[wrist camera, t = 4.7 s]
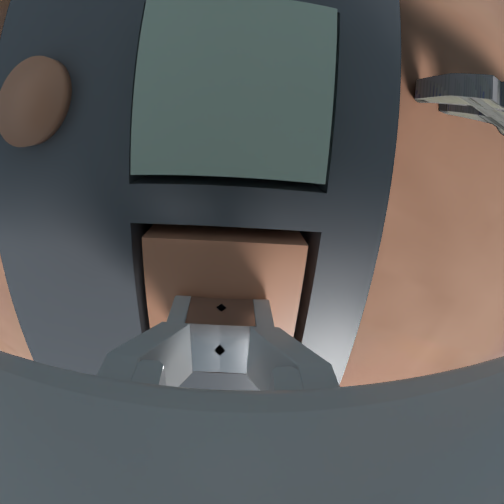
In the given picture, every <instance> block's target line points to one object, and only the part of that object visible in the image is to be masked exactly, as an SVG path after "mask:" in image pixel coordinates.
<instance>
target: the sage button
mask: <svg viewBox="0 0 504 504" xmlns="http://www.w3.org/2000/svg"><path fill="white" fill-rule="evenodd" d="M336 45H337V9H336V8H332V7H327V6H322V5H317V4H312V3H307V2H301V1H294V0H146V5H145V10H144V15H143V21H142V27H141V34H140V40H139V48H138V55H137V64H136V73H135V83H134V95H133V109H132V127H131V169H130V175H195V176H221V177H241V178H257V179H271V180H283V181H295V182H306V183H316V184H325V182H326V173H327V164H328V155H329V145H330V135H331V124H332V112H333V99H334V84H335V67H336Z"/></svg>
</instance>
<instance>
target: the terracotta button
mask: <svg viewBox="0 0 504 504" xmlns="http://www.w3.org/2000/svg"><path fill="white" fill-rule="evenodd" d="M142 252H143V266H144V278H145V289H146V299H147V308H148V317H149V325H150V328H152V327H154V326H156V325H157V324H159V323H161V322H167V319H168V316H169V313H170V310H171V307H172V304H173V301H174V298H175V296H176V295H182V296H191V297H192V296H196V297H209V298H222V299H268V300H269V302H270V307H271V311H272V316H273V321H274V326H275V327H279V328H281V329H282V330H284V331H285V332H286V333H288V334H289V335H291V336H292V337H293V336H294V331H295V325H296V320H297V314H298V308H299V302H300V296H301V290H302V284H303V278H304V272H305V265H306V259H307V252H308V244H307V243H306V241H305V240H304V238H303V236H302V235H301V233H300V232H299V231H294V230H278V229H260V228H241V227H222V226H200V225H176V224H153V225H152V226H151V227H150V228H149V230H148V231H147V232H146V233H145V234H144V235H143V237H142Z"/></svg>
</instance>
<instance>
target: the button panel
mask: <svg viewBox="0 0 504 504" xmlns="http://www.w3.org/2000/svg"><path fill="white" fill-rule="evenodd" d="M294 1H301V2H307V3H312V4H317V5H322V6H327V7H332V8H336V9H337V45H336V67H335V84H334V99H333V112H332V124H331V135H330V145H329V155H328V164H327V173H326V182H325V184H316V183H306V182H295V181H283V180H271V179H257V178H241V177H221V176H195V175H130V169H131V127H132V109H133V95H134V83H135V73H136V64H137V55H138V48H139V40H140V34H141V27H142V21H143V15H144V10H145V5H146V0H11V1H10V4H9V8H8V11H7V15H6V18H5V22H4V26H3V30H2V34H1V38H0V254H1V259H2V263H3V268H4V272H5V276H6V280H7V284H8V287H9V291H10V295H11V298H12V301H13V305H14V308H15V311H16V314H17V317H18V320H19V323H20V326H21V329H22V332H23V334H24V337H25V340H26V342H27V345H28V348H29V350H30V353H31V355H32V357H33V360H34V361H35V362H39V363H43V364H47V365H51V366H55V367H59V368H63V369H67V370H72V371H76V372H81V373H86V374H91V375H96V376H97V374H98V372H99V370H100V368H101V365H102V363H103V361H104V359H105V357H106V355H107V353H109V352H111V351H112V350H114V349H116V348H117V347H119V346H121V345H123V344H124V343H126V342H128V341H130V340H131V339H133V338H135V337H137V336H138V335H140V334H142V333H143V332H145V331H147V330H149V329H150V325H149V317H148V308H147V299H146V289H145V278H144V266H143V252H142V237H143V235H144V234H145V233H146V232H147V231H148V230H149V228H150V227H151V226H152V225H153V224H176V225H200V226H222V227H241V228H260V229H278V230H294V231H299V232H300V233H301V235H302V236H303V238H304V240H305V241H306V243H307V244H308V252H307V259H306V265H305V272H304V278H303V284H302V290H301V296H300V302H299V308H298V314H297V320H296V325H295V331H294V336H293V338H295V339H296V340H297V341H299V342H300V343H302V344H303V345H305V346H306V347H307V348H309V349H310V350H312V351H313V352H314V353H316V354H317V355H319V356H320V357H322V358H323V359H324V360H326V361H327V362H329V363H330V364H331V365H332V367H333V370H334V373H335V375H336V378H337V381H338V383H339V385H340V382H341V379H342V376H343V373H344V371H345V368H346V365H347V362H348V359H349V356H350V353H351V350H352V347H353V344H354V341H355V338H356V334H357V331H358V328H359V324H360V321H361V318H362V314H363V311H364V307H365V303H366V300H367V296H368V292H369V289H370V285H371V281H372V277H373V273H374V268H375V264H376V260H377V255H378V251H379V246H380V242H381V237H382V232H383V227H384V222H385V216H386V211H387V205H388V199H389V193H390V187H391V180H392V173H393V166H394V158H395V149H396V140H397V130H398V118H399V104H400V84H401V23H400V5H399V0H294ZM179 387H186V388H199V389H217V390H249V391H260V390H259V389H258V388H257V387H256V386H255V384H254V383H253V382H252V381H251V379H250V378H249V377H248V376H247V374H243V373H225V372H220V371H219V372H200V371H192V373H191V374H190V375H189V376H188V378H187V379H186V380H185V381H184V382H183V383H182V384H181V385H180V386H179Z"/></svg>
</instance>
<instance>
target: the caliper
mask: <svg viewBox="0 0 504 504" xmlns="http://www.w3.org/2000/svg"><path fill="white" fill-rule="evenodd" d="M415 100H416V101H417V102H421V103H439V111H441V112H443V113H445V114H449V115H454V116H460V117H464V118H469V119H474V120H478V121H482V122H486V123H490V124H493V125H494V126H496V127H497V129H498V131H499V132H500V133H501V134H502V135H504V82H501V81H500V80H498V79H497V78H496V77H495V76H493V75H484V74H464V73H450V74H444V75H438V76H433V77H428V78H423V79H419V80H416V91H415Z"/></svg>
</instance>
